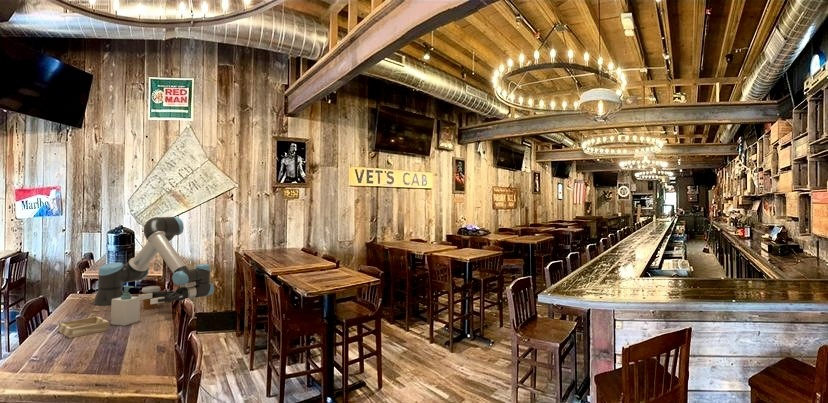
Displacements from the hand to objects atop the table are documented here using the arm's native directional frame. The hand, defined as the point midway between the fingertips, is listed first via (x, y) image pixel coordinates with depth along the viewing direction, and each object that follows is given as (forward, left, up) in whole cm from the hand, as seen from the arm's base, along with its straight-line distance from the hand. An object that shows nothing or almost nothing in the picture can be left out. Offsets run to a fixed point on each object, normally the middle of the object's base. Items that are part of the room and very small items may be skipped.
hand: (144, 299), depth 209 cm
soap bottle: (0, -8, -11) cm, 14 cm away
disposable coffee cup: (-21, +12, -11) cm, 27 cm away
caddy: (0, -25, -10) cm, 27 cm away
